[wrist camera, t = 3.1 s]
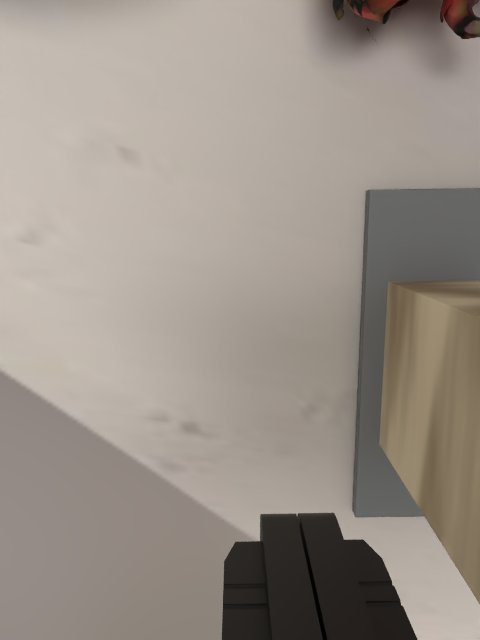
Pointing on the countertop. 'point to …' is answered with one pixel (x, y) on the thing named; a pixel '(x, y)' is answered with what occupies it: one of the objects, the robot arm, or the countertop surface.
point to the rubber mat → (378, 268)
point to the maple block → (436, 409)
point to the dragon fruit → (377, 3)
